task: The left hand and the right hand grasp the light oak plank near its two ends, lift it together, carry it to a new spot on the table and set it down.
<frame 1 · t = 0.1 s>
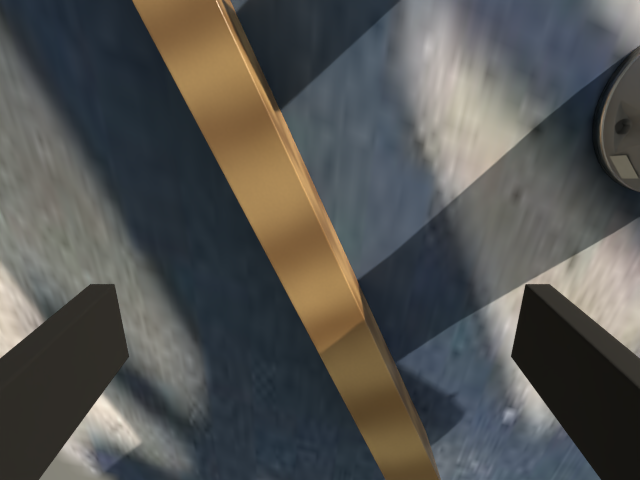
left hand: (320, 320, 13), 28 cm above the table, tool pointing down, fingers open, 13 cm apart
plank: (300, 216, 41), on the table
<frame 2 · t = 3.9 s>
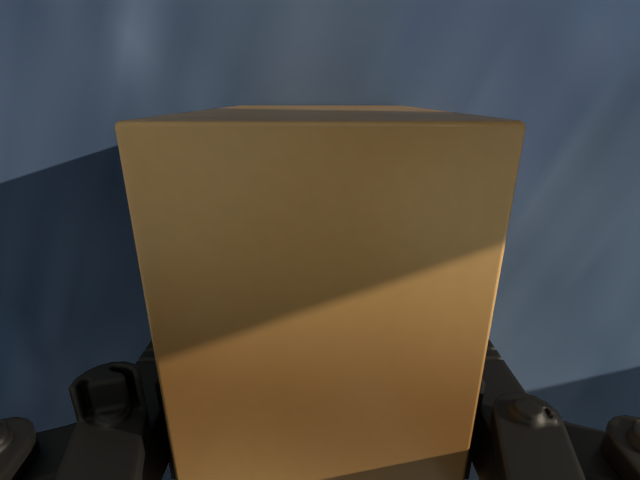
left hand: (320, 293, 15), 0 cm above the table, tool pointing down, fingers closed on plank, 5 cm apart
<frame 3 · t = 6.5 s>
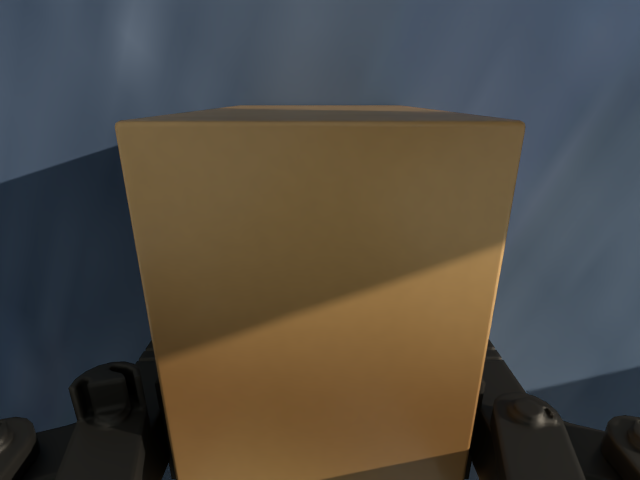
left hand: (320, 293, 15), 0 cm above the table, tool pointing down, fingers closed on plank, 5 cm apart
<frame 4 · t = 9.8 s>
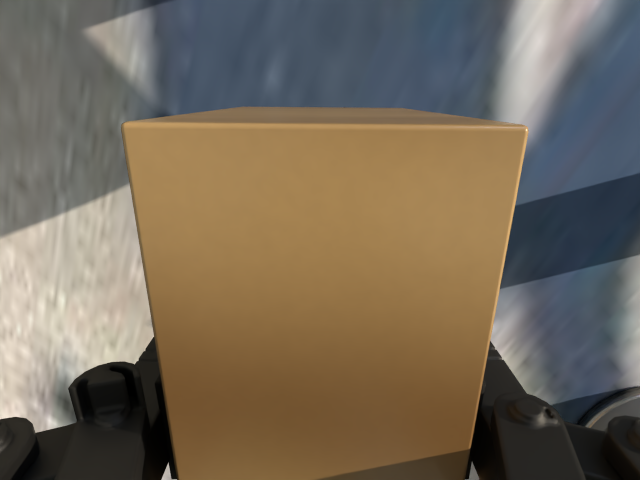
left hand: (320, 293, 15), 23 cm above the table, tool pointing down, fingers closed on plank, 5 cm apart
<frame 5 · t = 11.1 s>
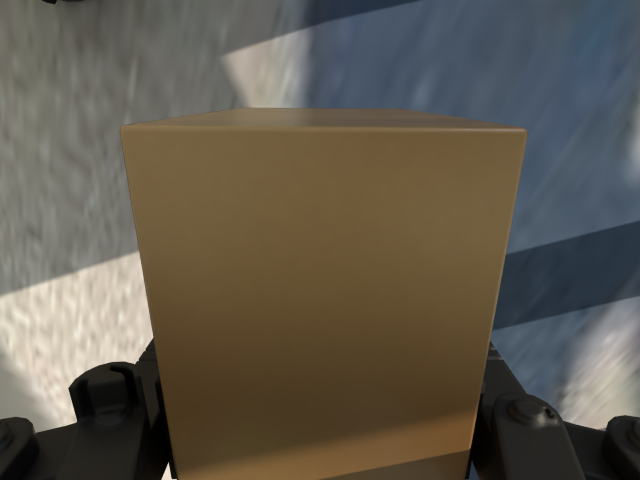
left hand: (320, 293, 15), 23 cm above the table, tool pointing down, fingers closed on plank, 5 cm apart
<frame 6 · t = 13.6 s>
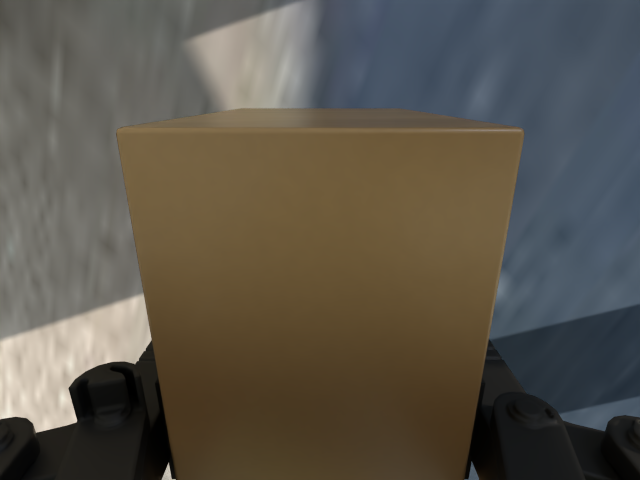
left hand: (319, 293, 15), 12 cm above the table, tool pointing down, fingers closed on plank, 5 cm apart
when the left hand's fingers open (2 cm above the table, at t = 15.8 s): plank drops 1 cm, on the table.
when the right hand's fingers open (2 cm above the table, at t = 15.8 s): plank drops 1 cm, on the table.
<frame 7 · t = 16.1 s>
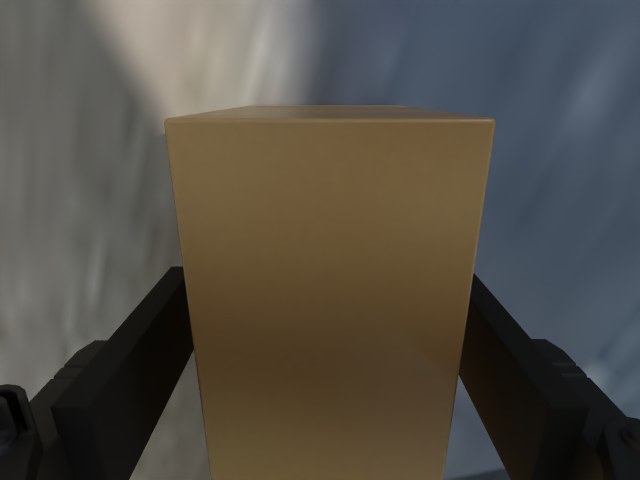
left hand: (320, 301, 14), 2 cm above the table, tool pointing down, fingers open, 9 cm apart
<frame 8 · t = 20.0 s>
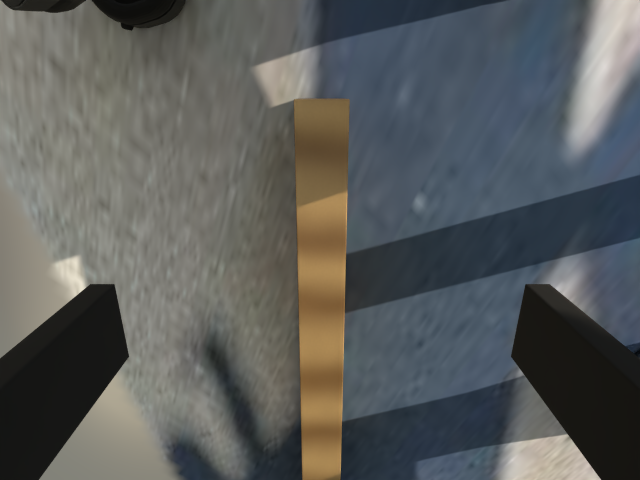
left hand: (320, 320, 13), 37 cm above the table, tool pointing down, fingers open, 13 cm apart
plank: (321, 339, 56), on the table
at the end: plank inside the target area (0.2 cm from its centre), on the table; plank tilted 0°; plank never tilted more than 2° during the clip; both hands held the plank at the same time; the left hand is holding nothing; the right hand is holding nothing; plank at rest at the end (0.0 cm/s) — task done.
